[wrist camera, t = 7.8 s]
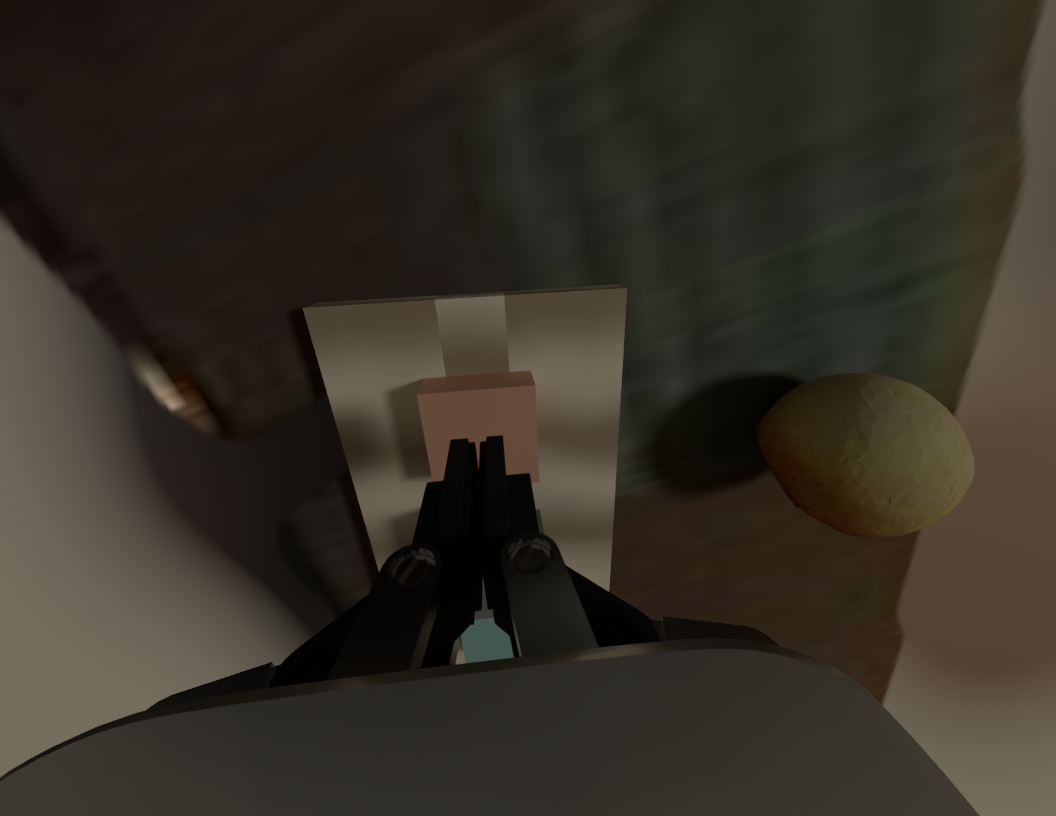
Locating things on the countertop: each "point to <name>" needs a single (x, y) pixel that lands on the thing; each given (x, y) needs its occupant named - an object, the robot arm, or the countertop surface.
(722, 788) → the robot arm
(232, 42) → the countertop surface
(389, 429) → the keypad board
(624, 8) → the countertop surface
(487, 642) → the key teal
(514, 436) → the key terracotta
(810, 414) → the fruit
